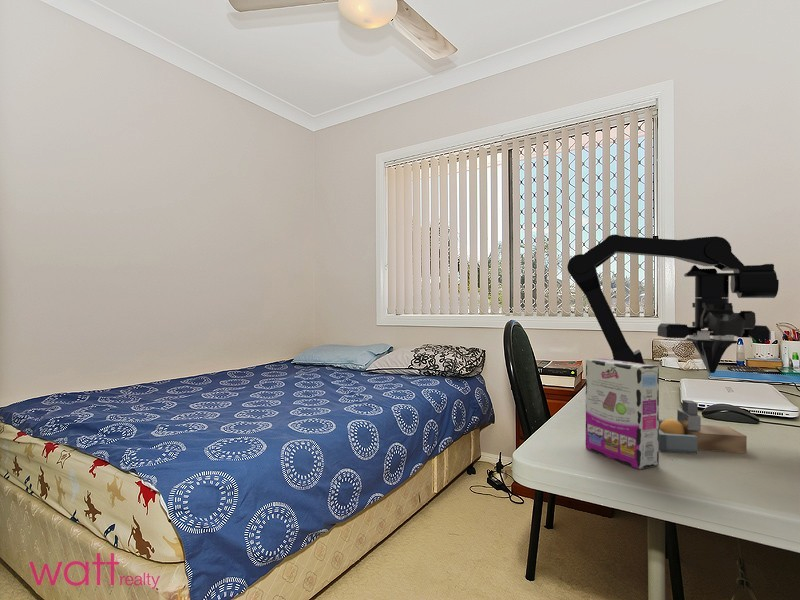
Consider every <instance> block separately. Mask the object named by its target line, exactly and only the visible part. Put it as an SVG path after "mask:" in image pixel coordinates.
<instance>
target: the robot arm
mask: <svg viewBox="0 0 800 600" xmlns="http://www.w3.org/2000/svg"><path fill="white" fill-rule="evenodd" d="M616 254H625V255H636V256H646V257H647V256H648V257H656V258H657V257H660V258H672V259H677V260H680V261H684V262H687V263H691V264H694V265H692V266H691V267H690V269H689V270H688V271H687V272H685V273H684V274H683V276H684V277H685V278H694V302H691V303H692V306H691V307H692V308H694V321H692V322H691V323H692V326H688V324H684V323H683V324H682V323H669V322H668V323H664V322H663V323H662V322H661V323H660V324H659V325H658V327H657V336H659V337H662V338H667V339H668V338H669V339H685V338H686V337H687V338H686V342H687V341H689V342H691V343H692V344H693V346H694V347H695V349H696V351H697V352H698V354H699V356H700V358H701V360H702V363H703V364H704V367H705V369H706V371H707V373H708V374H714V373H715V372H716V370H717V368H718V366H719V364H720V361H721V359H722V357H723V355H724V354H725V352H726V351H727V349H728V348H729V347H730V346H731V345H733V344H734V345H735V344H737V343H738V340H735V337H737V338H746V339H747V338H750V339H752V340H753V341H754V340H758V341H761V340H762V341H771V338H772V334H771V333H772V331H771V330H770V328H769V327H768V326H767V325H759V324H756V323H757V321H756V313H755V311H752V310H740V312H734V310H733V309H734V305H733V303H732V302H730V301H729V299H730V298H729V296H730V295H729V293H730V291H731V293H732V294H736V296H737V298H738V299H775V298H776V297H777V295H778V292H779V283H780V282H779V279H778V275H777V272H776V270H775V264H774V263H765V264H760V265H759V264H756V265H753V264H752V265H749V264H748V265H745V264H744V263H743V262H741V260H740V259H739V258H738V257H737V256H736V255H735V254H734V253H733V252H732V246H731V243H730V242H729V241H728V240H727V239H726V238H724V237H721V236H715V235H714V236H704V237H702V236H701V237H695V238H694V237H693V238H685V239H670V238H655V237H644V236H643V237H641V236H627V235H620V234H611V235H608V236H607V237H606V238H605V239H604V240H602V241H601V242H599V243H598V244H596V245H595V246H593V247H592V248H590V249H589V250H587V251H586V252H585V253H583V254H581V253H579V254H576V255H574V256H572V257H571V258H570V260H569V261H568V264H567V267H566V268H567V271H568V274H569V275H570V276H571V278H572V280H574V282H575V283H576V285H577V286H578V287H579V289H580V290H581V291H582V293H583V294H584V296H585V297H586V300H587V302H588V303H589V305H590V308H591V311H592V312H593V313H594V317H595V319H596V321H597V323H598V324H599V325H598V326H599V327H600V330H601V331H602V333H603V336H604V337H605V339H606V342H607V343H608V346H609V348H610V351H611V353H612V358H613V360H617V361H625V362H632V363H640V364H646V362H645V361H644V359H643V358H644V357H643V356H642V352H641V350H640V349H637V350H635V351H633V349H632V348H631V347H630V345H629V344H628V342H627V340H626V338H625V336H624V334H623V331H622V330H621V328H620V325H619V323H618V321H617V319H616V317H615V315H614V313H613V312H612V308H611V307H610V305H609V302H608V300H607V299H606V296H605V294H604V293H603V290H602V287H601V286H602V285H601V282H600V278H599V275H598V272H597V268H598V267H601V265H603V264H604V263H606V261H608V260H610V258H612V257H613V256H614V255H616ZM697 265H699V266H702V267H712V268H699V267H698V266H697ZM713 267H714V268H713ZM718 270H720V271H722V272H718ZM727 271H728V272H727ZM731 271H732V272H731ZM729 279H730V281H729ZM729 282H730V284H729ZM729 285H730V286H729ZM729 287H730V288H729ZM729 289H730V291H729ZM688 336H689V337H688ZM711 336H712V338H711ZM646 365H648V364H646Z"/></svg>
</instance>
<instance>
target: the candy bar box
mask: <svg viewBox="0 0 800 600" xmlns="http://www.w3.org/2000/svg"><path fill="white" fill-rule="evenodd" d="M659 370H660V366H659V365H652V364H647V365H646V363H645V364H640V363H632V362H625V361H617V360H614V359H610V358H592V359H591V358H590V359H586V360H585V449H586V450H589V451H591V452H594V453H596V454H599V455H602V456H603V457H606V458H608V459H611V460H614V461H615V462H618V463H620V464H621V463H622V464H623V465H624V464H625V465H627V466H629V467H632V468H635V469H637V470H642V469H648V468H654V467H657V466H659V462H660V459H659V458H660V455H659V452H660V451H659V417H660V416H659V414H660V411H659V410H660V408H659V407H660V406H659V405H660V404H659V403H660V400H659V399H660V398H659V397H660V393H659V392H660V391H659V389H660V387H659V386H660V385H659V384H660V377H659V376H660V371H659Z"/></svg>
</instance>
